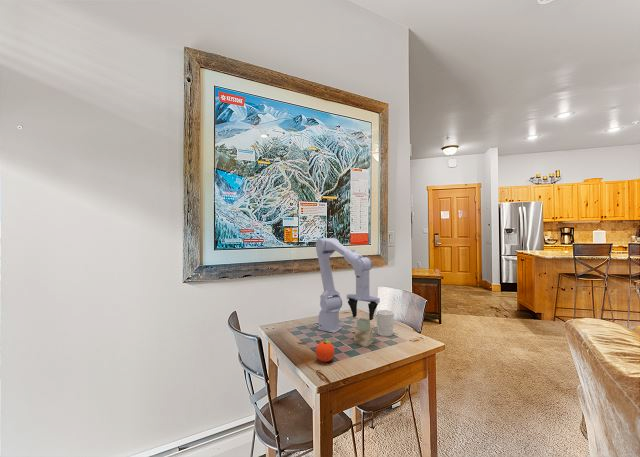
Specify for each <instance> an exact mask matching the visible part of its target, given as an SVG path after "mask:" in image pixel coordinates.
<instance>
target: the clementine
mask: <svg viewBox="0 0 640 457" xmlns="http://www.w3.org/2000/svg"><path fill="white" fill-rule="evenodd" d="M315 356H316V357H317V359H318V360H319V361H320V362H322V363H323V362H324V363H326V362H330V361H331V360H332V359H333V358H334V356H335V347H334V346H333V342H332V341H330V340H325V341H321V342H320V343H318V344H317V345H316V347H315Z"/></svg>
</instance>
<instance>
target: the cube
mask: <svg viewBox="0 0 640 457" xmlns="http://www.w3.org/2000/svg"><path fill="white" fill-rule="evenodd" d="M370 325H371V320H369V318H364V317H363V318H362V317H360V318H359V319H357V320H356V329H357V330H360V331H365V332H366V331H367V330H369V329H370V328H371V326H370Z"/></svg>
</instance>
